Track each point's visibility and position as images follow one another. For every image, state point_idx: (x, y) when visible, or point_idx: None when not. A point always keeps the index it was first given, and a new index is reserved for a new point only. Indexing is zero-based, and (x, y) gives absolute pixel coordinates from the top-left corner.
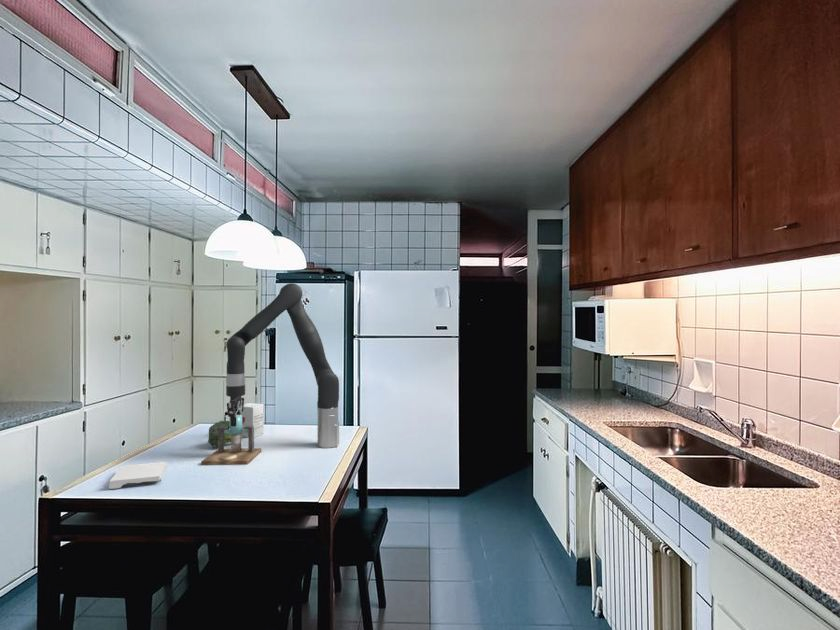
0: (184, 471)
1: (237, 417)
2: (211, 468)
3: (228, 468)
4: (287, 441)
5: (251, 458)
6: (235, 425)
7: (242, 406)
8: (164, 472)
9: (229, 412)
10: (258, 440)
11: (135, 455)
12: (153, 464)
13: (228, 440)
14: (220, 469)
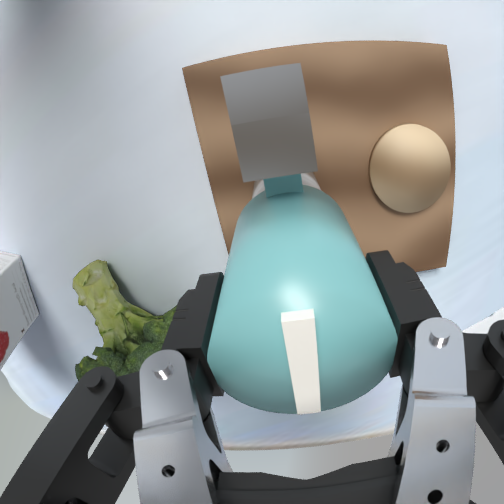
0: (491, 271)
1: (386, 310)
2: (481, 194)
3: (486, 119)
4: (5, 74)
5: (380, 41)
6: (387, 254)
7: (82, 442)
8: (489, 317)
9: (498, 415)
10: (29, 215)
11: (306, 443)
12: None
13: (131, 311)
14: (495, 150)
